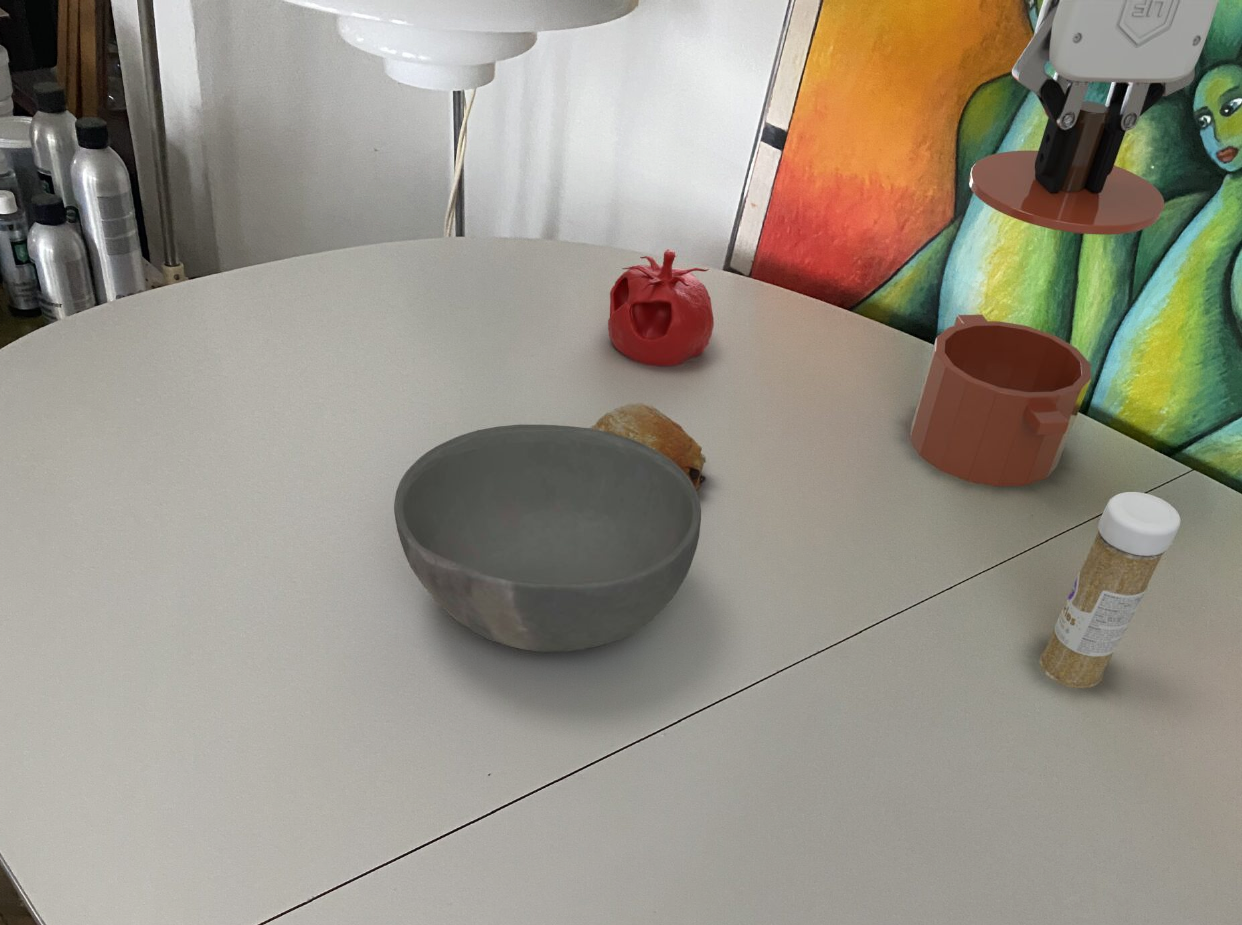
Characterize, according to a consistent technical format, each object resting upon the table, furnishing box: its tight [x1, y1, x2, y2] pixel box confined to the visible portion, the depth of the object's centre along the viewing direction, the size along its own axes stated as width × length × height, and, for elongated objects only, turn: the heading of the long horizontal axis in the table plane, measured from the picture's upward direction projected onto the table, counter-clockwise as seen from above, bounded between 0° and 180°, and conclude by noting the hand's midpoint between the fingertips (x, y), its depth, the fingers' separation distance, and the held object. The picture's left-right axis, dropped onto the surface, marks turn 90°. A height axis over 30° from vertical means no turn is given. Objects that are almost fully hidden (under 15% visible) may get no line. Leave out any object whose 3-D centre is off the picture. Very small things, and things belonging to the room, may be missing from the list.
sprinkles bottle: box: [1038, 491, 1181, 689], centre depth 80 cm, size 5×5×13 cm
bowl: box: [393, 424, 702, 653], centre depth 82 cm, size 20×20×10 cm
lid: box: [968, 100, 1165, 236], centre depth 84 cm, size 14×14×6 cm
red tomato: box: [607, 248, 715, 367], centre depth 109 cm, size 10×10×9 cm
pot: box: [909, 314, 1093, 488], centre depth 102 cm, size 13×18×8 cm
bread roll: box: [589, 402, 707, 492], centre depth 96 cm, size 10×10×8 cm
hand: (1067, 183), depth 86 cm, fingers closed on lid, 2 cm apart
